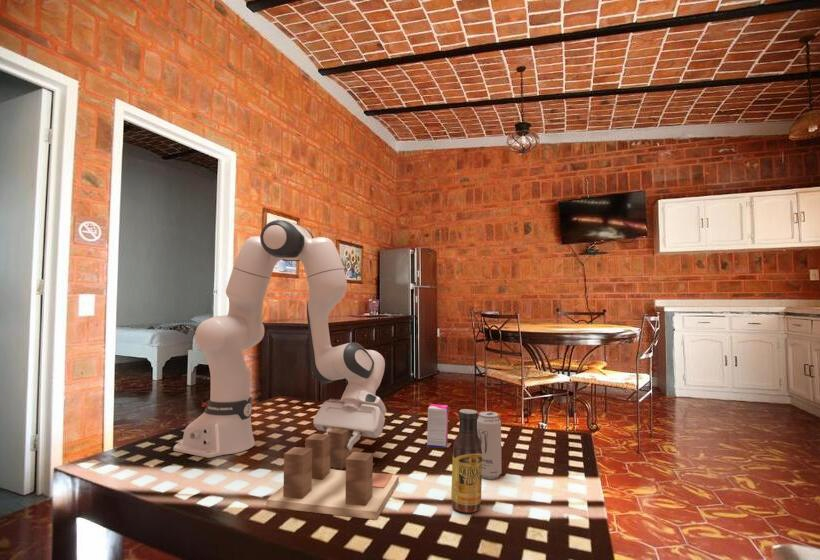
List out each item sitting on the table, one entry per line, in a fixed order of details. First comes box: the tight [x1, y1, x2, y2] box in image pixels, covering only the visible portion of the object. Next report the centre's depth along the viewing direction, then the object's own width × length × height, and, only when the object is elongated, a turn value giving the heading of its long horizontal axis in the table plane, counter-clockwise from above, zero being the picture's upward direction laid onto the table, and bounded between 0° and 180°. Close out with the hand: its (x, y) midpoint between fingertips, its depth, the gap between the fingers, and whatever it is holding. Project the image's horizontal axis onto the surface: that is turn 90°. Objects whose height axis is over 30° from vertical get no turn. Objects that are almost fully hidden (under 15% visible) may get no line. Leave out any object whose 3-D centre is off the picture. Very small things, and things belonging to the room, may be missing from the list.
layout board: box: [266, 433, 400, 520], centre depth 95 cm, size 24×18×10 cm
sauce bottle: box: [450, 408, 483, 514], centre depth 89 cm, size 7×6×20 cm
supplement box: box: [426, 403, 449, 449], centre depth 128 cm, size 6×6×12 cm
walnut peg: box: [328, 428, 352, 470], centre depth 112 cm, size 4×4×9 cm
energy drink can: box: [477, 411, 503, 480], centre depth 106 cm, size 6×6×15 cm
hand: (337, 447), depth 111 cm, fingers closed on walnut peg, 4 cm apart
